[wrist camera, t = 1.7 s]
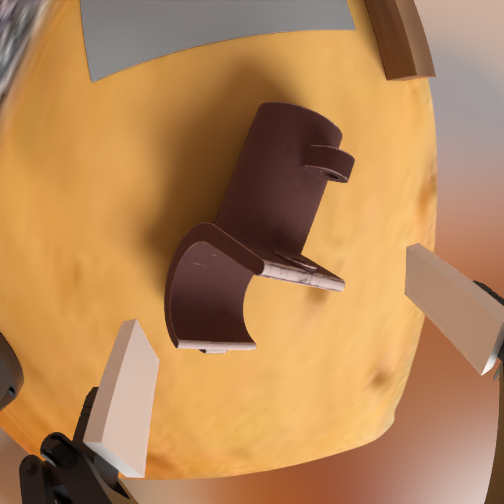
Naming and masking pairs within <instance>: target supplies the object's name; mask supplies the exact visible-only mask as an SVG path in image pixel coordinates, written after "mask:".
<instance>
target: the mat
mask: <svg viewBox="0 0 504 504" xmlns="http://www.w3.org/2000/svg"><path fill="white" fill-rule="evenodd" d="M80 5H81V15H82V25H83V33H84V40H85V47H86V54H87V60H88V66H89V71H90V77H91V82H95V81H97V80H100V79H102V78H104V77H107V76H109V75H111V74H114V73H116V72H119V71H121V70H124V69H126V68H129V67H132V66H134V65H137V64H140V63H143V62H146V61H149V60H152V59H155V58H158V57H161V56H164V55H168V54H171V53H174V52H178V51H182V50H185V49H189V48H193V47H197V46H201V45H206V44H210V43H215V42H220V41H225V40H230V39H235V38H241V37H248V36H255V35H262V34H271V33H280V32H292V31H309V30H356V28H355V25H354V22H353V19H352V16H351V13H350V10H349V7H348V4H347V1H346V0H80Z"/></svg>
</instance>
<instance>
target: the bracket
mask: <svg viewBox="0 0 504 504" xmlns="http://www.w3.org/2000/svg"><path fill="white" fill-rule="evenodd" d="M341 140H342V133H341V131H340V129H339V128H338V127H337V126H336V125H335V124H334V123H333V122H331V121H330V120H329V119H327V118H326V117H324V116H322V115H321V114H319V113H317V112H315V111H312V110H310V109H307V108H305V107H302V106H299V105H295V104H291V103H285V102H266V103H263V104H261V105H260V106H259V109H258V111H257V113H256V116H255V118H254V121H253V123H252V126H251V128H250V131H249V133H248V136H247V138H246V141H245V143H244V146H243V148H242V151H241V154H240V156H239V159H238V161H237V164H236V167H235V169H234V172H233V175H232V177H231V180H230V182H229V185H228V188H227V191H226V193H225V196H224V199H223V201H222V204H221V207H220V210H219V212H218V215H217V218H216V221H215V223H209V222H202V223H199V224H197V225H195V226H194V227H192V228H191V229H190V230H189V231H188V232H187V233H186V234H185V236H184V237H183V238H182V240H181V241H180V243H179V245H178V247H177V249H176V251H175V253H174V255H173V258H172V261H171V264H170V267H169V271H168V275H167V280H166V286H165V296H164V311H165V321H166V326H167V330H168V333H169V336H170V338H171V341H172V343H173V344H174V346H175V347H176V348H185V349H198V350H200V351H201V352H203V353H226V352H227V350H255V349H256V343H255V342H254V341H253V340H252V338H251V337H250V335H249V334H248V332H247V329H246V327H245V323H244V317H243V302H244V296H245V292H246V289H247V286H248V284H249V282H250V280H251V278H252V277H253V275H254V274H255V275H257V276H261V277H266V278H271V279H276V280H281V281H286V282H292V283H297V284H302V285H307V286H312V287H317V288H323V289H328V290H333V291H339V292H340V291H342V290H343V289H344V288H345V282H344V280H343V279H341V278H339V277H338V276H336V275H334V274H333V273H331V272H330V271H328V270H326V269H325V268H323V267H321V266H320V265H318V264H316V263H315V262H313V261H311V260H310V259H308V258H306V257H304V256H303V255H301V252H302V250H303V247H304V244H305V242H306V239H307V236H308V234H309V231H310V228H311V226H312V223H313V220H314V218H315V215H316V212H317V209H318V207H319V204H320V201H321V198H322V195H323V193H324V190H325V187H326V184H327V181H328V180H330V181H336V182H341V183H347V182H348V180H349V177H350V174H351V171H352V168H353V165H354V161H355V159H354V157H353V156H351V155H350V154H348V153H347V152H345V151H343V150H340V149H339V146H340V143H341Z"/></svg>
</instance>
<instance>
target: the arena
mask: <svg viewBox="0 0 504 504" xmlns="http://www.w3.org/2000/svg"><path fill="white" fill-rule="evenodd" d="M364 1H365V4H366V7H367V10H368V12H369V15H370V18H371V22H372V25H373V28H374V31H375V34H376V38H377V41H378V45H379V48H380V52H381V56H382V60H383V64H384V68H385V72H386V77H387V80H404V81H406V80H412V79H420V78H428V77H436V75H435V71H434V67H433V63H432V58H431V54H430V50H429V46H428V43H427V39H426V36H425V33H424V29H423V26H422V23H421V20H420V17H419V15H418V11H417V8H416V6H415V3H414V1H413V0H364Z"/></svg>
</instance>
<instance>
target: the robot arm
mask: <svg viewBox="0 0 504 504" xmlns="http://www.w3.org/2000/svg"><path fill="white" fill-rule="evenodd" d="M405 295H406V296H407V297H408V298H409V299H410V300H411V301H412V302H413V303H414V304H415V305H416V306H417V307H418V308H419V309H420V310H421V311H422V312H423V313H424V314H425V315H426V316H427V317H428V318H429V319H430V320H431V321H432V322H433V323H434V324H435V325H436V326H437V327H438V328H439V329H440V331H441V332H443V334H444V335H445V336H446V337H447V338H448V339H449V340H450V341H451V342H452V343H453V344H454V346H455V347H456V348H457V349H458V350H459V351H460V352H461V353H462V354H463V356H464V357H465V358H466V359H467V360H468V361H469V363H470V364H471V365H472V366H473V367H474V368H475V369H476V370H477V372H478V373H479V374H480V375H483V374H484V373H486V372H487V371H488V370H490V369H491V368H493V366H494V364H495V361H496V359H497V357H498V358H499V359H500V360H501V363H500V365H499V367H498V369H497V371H496V373H495V375H494V380H496V378H497V376H498V374H499V376H500V377H499V380H500V396H499V420H498V431H497V441H496V449H495V456H494V462H493V468H492V473H491V478H490V483H489V487H488V492H487V495H486V500H485V503H484V504H504V299H503V298H501V297H499V296H498V294H496V293H495V292H493V291H492V290H491V289H490V288H489V287H487V286H486V285H485V284H482V283H480V282H478V281H473V282H472V281H471V280H470V279H469V278H467V277H466V276H464V275H463V274H462V273H460V272H459V271H458V270H456V269H455V268H454V267H452V266H451V265H449V264H448V263H447V262H445V261H444V260H442V259H441V258H439V257H438V256H437V255H435V254H434V253H432V252H431V251H429V250H428V249H426V248H425V247H423V246H422V245H420V244H419V243H417V244H414V245H411V246H408V247H407V249H406V278H405ZM159 362H160V360H159V359H158V357H157V355H156V354H155V352H154V350H153V348H152V346H151V345H150V343H149V341H148V339H147V337H146V336H145V334H144V332H143V330H142V328H141V326H140V324H139V322H138V320H137V319H133V320H128V321H124V322H122V325H121V327H120V330H119V332H118V335H117V338H116V340H115V343H114V346H113V348H112V351H111V354H110V356H109V359H108V362H107V365H106V368H105V370H104V373H103V376H102V379H101V382H100V385H99V387H93V388H92V389H91V391H90V392H89V393H88V395H87V396H86V399H85V402H84V405H83V408H82V411H81V414H80V415H81V416H80V417H79V420H78V423H77V427H76V430H75V433H74V437H73V440H72V441H71V440H70V439H68V438H67V437H66V436H65V435H64V434H62V433H60V432H54V433H52V434H49V435H48V436H47V437H46V438H45V439H44V441H43V442H42V444H41V448H40V452H41V456H42V457H44V458H45V459H46V460H47V461H42V460H41V459H40V458H39V457H37V456H35V455H28V456H26V457H25V458H24V459H23V461H22V462H21V464H20V468H19V475H20V487H21V496H22V504H56V503H55V501H56V502H57V504H138V503H137V501H136V500H135V499H134V497H133V496H132V495H131V494H130V492H129V491H128V489H127V488H126V487H125V485H124V484H123V483H122V481H120V479H119V478H118V472H121V473H122V474H123V475H125V476H126V477H137V478H144V476H145V465H146V455H147V446H148V437H149V429H150V421H151V413H152V406H153V399H154V393H155V386H156V380H157V374H158V368H159ZM23 382H24V377H23V372H22V369H21V366H20V364H19V361H18V359H17V357H16V356H15V354H14V352H13V351H12V349H11V347H10V346H9V344H8V343H7V342H6V340H5V339H4V338H3V336H2V335H1V334H0V412H1V411H2V410H3V409H4V408H5V407H6V406H8V405H9V404H10V403H11V402H12V401H13V400H14V399H15V398H16V397H17V396H18V394H19V392H20V390H21V388H22V386H23Z"/></svg>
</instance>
